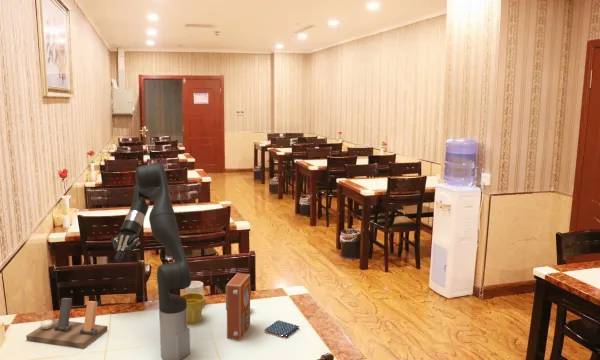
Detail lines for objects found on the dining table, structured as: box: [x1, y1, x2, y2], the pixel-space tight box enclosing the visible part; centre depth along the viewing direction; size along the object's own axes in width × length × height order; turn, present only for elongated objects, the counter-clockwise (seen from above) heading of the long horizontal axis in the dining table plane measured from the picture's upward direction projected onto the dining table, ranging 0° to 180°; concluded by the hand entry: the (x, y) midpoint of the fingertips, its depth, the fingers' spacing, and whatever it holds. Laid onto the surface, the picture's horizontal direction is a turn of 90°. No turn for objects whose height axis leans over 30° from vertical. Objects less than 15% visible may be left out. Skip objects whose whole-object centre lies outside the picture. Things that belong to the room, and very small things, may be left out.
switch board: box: [25, 318, 108, 350], centre depth 185 cm, size 24×14×4 cm, turn 77°
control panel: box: [225, 272, 252, 341], centre depth 189 cm, size 21×7×15 cm
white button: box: [40, 319, 53, 329], centre depth 187 cm, size 4×4×2 cm
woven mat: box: [263, 319, 300, 339], centre depth 192 cm, size 10×11×2 cm
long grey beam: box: [58, 297, 73, 330], centre depth 186 cm, size 3×2×12 cm, turn 77°
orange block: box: [83, 300, 98, 334], centre depth 184 cm, size 3×2×12 cm, turn 77°
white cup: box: [184, 280, 204, 295], centre depth 212 cm, size 8×8×10 cm
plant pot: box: [180, 293, 206, 325], centre depth 199 cm, size 10×10×10 cm
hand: (117, 260), depth 199 cm, fingers closed
